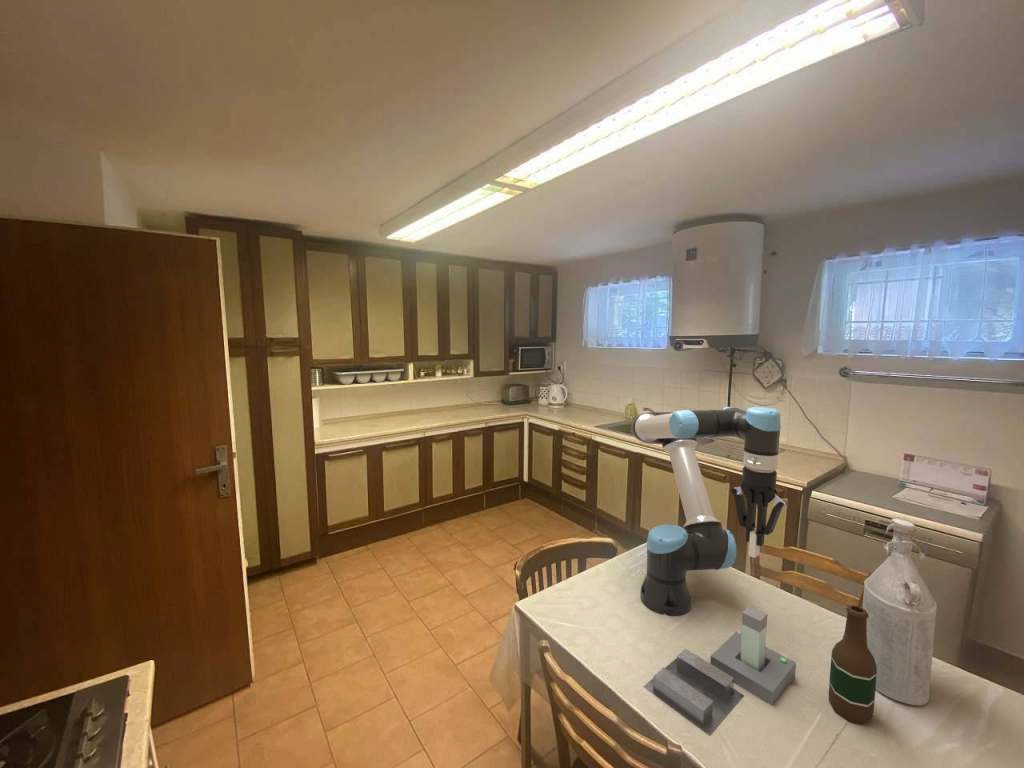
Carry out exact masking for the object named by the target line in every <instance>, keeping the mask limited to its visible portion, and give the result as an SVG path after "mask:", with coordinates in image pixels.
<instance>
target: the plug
mask: <svg viewBox="0 0 1024 768" xmlns="http://www.w3.org/2000/svg"><path fill="white" fill-rule="evenodd" d="M741 617H742V621H741V623H742V624H741V634H742V637H741V659H740V661H741V662H743V663H745V664H747V665H749V666H750V667H752V668H754V669H756V670H757V671H759V672H762V670H763V669H764V667H765V648H766V647H767V646H766V645H767V644H766V643H767V626H768V613H766V612H763V611H761V610H759V609H757V608H755V607H752V606H751V605H750V606H748V607H747V608H746V609H745V610H744V611H743V612H742V615H741Z"/></svg>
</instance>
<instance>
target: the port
mask: <svg viewBox="0 0 1024 768" xmlns="http://www.w3.org/2000/svg"><path fill="white" fill-rule="evenodd" d="M741 637H742V633H740V632H738V631H735V633H733V634H732V635H731V636H730V637H729V638H727V640H726V641H725V642H724V643H722V644H721V645H720V646H719V647H718V648H717V649H716V650H715V651H714V652H713V653H712V654H711V655H710V662H709V663H710V664H712V665H713V666H715V667H717V668H718V669H720V670H722V671H723V672H725V673H727V674H728V675H730V676H731V677H733V678H734V684H736V685H737V686H739V687H740V688H742V689H745V691H748V692H749V693H751V694H752V695H754V696H756V697H758V699H760V700H762V701H764V702H766V703H767V704H769V705H770V706H773V705H774V704H775V702H776V701H777V700H778V698H779V697H780V696H781V695H782V693H783V692H784V690H785V689H786V687H787V686H789V685H790V684H792V682H793V681H794V680H795V678H796V668H797V663H796V662H795V661H794V660H793V659H790V658H788V657H786V656H784V655H783V654H781V653H779V652H776V651H774V650H773V649H770V648H769V647H767V646H766V648H765V667H764V669H763V670H762V672H759V671H757V670H756V669H754V668H752V667H750V666H749V665H747V664H745V663H743V662H741V661H740V659H741Z"/></svg>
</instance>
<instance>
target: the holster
mask: <svg viewBox="0 0 1024 768" xmlns="http://www.w3.org/2000/svg"><path fill="white" fill-rule="evenodd" d="M734 687H735V683H734V678H733V677H731V676H730V675H728V674H727V673H725V672H723V671H722V670H720V669H718V668H717V667H715V666H713V665H712V664H710V662H708V661H706V660H705V659H703V658H702V657H700V656H698V655H697V654H695V653H693V652H692V651H690V650H689V649H687V648H684V649H683V650H682V651H681V652H680V653H678V654H677V655H676V658H675V659H674V660H673V661H671V662H670V663H669V664H667V666H666V667H662V668H661V669H660V670H658V671H657V673H655V674H654V675H653V677H652V678H651V679H650V680H649V681H648V682H647V683H645V685H643V688H644V689H646V690H647V691H648V692H650V693H651V694H653V695H654V696H655V697H657V698H658V699H659V700H661V701H662V702H663V703H665V704H666V705H667V706H669V707H670V708H671V709H673V710H674V711H676V712H677V713H678V714H680V715H681V716H682V717H684V718H685V719H686V720H688V721H689V722H690V723H691V724H693V725H695V726H696V727H697V728H698V729H700V730H701V731H703V733H705V734H707V735H708V736H710V737H711V735H713V733H714V732H715V731H716V730H717V728H718V727H719V726H720V725H721V723H722V722H723V721H725V719H726V718H728V716H729V714H730V713H731V712H732V711H733V710H734V709H735V707H737V705H739V702H741V700H742V699H743V698H744V697H745V695H744V694H743V693H741V692H740V691H739V690H737V689H735V688H734Z"/></svg>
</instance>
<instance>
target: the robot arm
mask: <svg viewBox="0 0 1024 768" xmlns="http://www.w3.org/2000/svg"><path fill="white" fill-rule="evenodd" d="M630 427H631V430H630V431H631V433H632V435H633V438H635V439H636V440H638V442H641V443H644V444H649V445H661V446H662V450H663V451H664V452H665V453H666V454H668V455H669V458H670V460H669V461H670V462H671V466H672V467H671V468H672V471H673V474H674V479H675V483H676V485H677V489H678V493H679V497H680V501H681V505H682V508H683V512H684V516H685V517H684V518H685V521H686V522H685V523H684V525H683V527H682V526H679V525H678V524H674V525H672V524H670V523H669V524H664V523H663V524H659V525H655V526H654V527H652V528H651V529H650V530H649V532H648V533H647V534H648V535H647V539H646V573H645V574H646V575H645V577H644V580H643V582H642V585H641V587H640V601H641V603H643V604H644V605H645V606H646V607H647V608H649V609H650V610H651V611H654V612H656V613H659V614H662V615H667V616H681V615H686V614H687V613H688V612H689V611H690V610H691V608H692V596H691V595H690V594H691V593H690V590H689V588H688V584H687V580H686V579H687V572H689V571H705V570H706V571H707V570H714V571H718V570H722V569H729V568H731V567H733V564H735V561H736V557H737V544H736V543H737V542H736V539H735V537H734V535H733V534H732V532H731V531H730V530H729V529H726V528H723V524H722V522H721V521H720V520H718V519H717V517H715V515H714V512H713V509H712V506H711V505H712V504H711V502H710V499H709V495H708V493H707V488H706V485H705V482H704V479H703V476H702V472H701V468H700V465H699V462H698V458H697V455H696V451H695V448H696V447H697V446H698V443H697V442H698V441H700V440H699V439H701V438H730V437H731V438H732V437H733V438H738V439H740V440H743V441H744V443H743V444H744V445H743V446H744V447H743V463H742V464H743V467H742V478H741V479H742V480H741V481H742V482H741V483H740V485H739V486H735V487H733V488H731V489H730V492H731V493H732V496H733V499H734V504H735V509H736V515H737V520H738V525H739V526H741V527H743V528H745V529H746V531H745V532H746V533H745V534H746V535H745V540H746V542H747V543H748V545H749V546H748V557H751V558H753V559H755V558H757V557H758V556H760V551H761V547H762V546H763V545H764V544H765V536H769V535H771V534H772V533H773V532H774V531H775V528H776V526H777V522H778V520H779V518H780V515H781V512H782V510H783V508H784V507H786V505H788V502H787V500H785V499H782V498H781V497H779V496H778V491H777V488H776V487H777V478H778V477H777V475H778V472H777V469H778V461H779V460H778V459H779V448H780V447H779V445H780V436H781V428H782V425H781V412H780V411H779V410H777V409H775V408H773V407H772V408H771V407H764V406H752V407H749V408H748V407H747V410H743V409H741V408H739V407H732V406H725V407H723V408H720V409H705V410H703V409H700V410H699V409H697V410H696V409H695V410H694V409H692V410H689V409H682V410H676V411H661V412H658V411H655V412H654V411H652V412H650V411H649V412H644V413H641V414H638V415H637V416H635V417H634V419H633V420H632V422H631V426H630ZM744 496H745V497H744ZM745 498H746V503H745ZM772 501H773V502H772ZM771 502H772V504H773V508H772V509H771V511H770V515H769V517H768V507H769V504H770V503H771ZM767 517H768V520H767Z"/></svg>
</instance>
